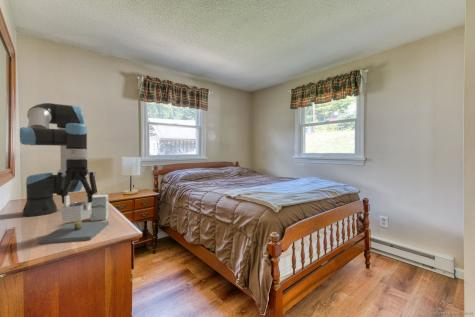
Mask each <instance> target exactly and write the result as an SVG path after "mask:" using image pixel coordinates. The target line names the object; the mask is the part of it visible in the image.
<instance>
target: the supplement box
mask: <svg viewBox="0 0 475 317" xmlns="http://www.w3.org/2000/svg"><path fill="white" fill-rule="evenodd" d="M108 217H109V194H106V193H105V194H93V195H92V214H91V215H89V218H90V222H97V221H107V219H108Z"/></svg>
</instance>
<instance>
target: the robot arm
mask: <svg viewBox="0 0 475 317" xmlns="http://www.w3.org/2000/svg"><path fill="white" fill-rule="evenodd" d="M26 114H27V116H26V117H27V119H28V122H27V123H28V124H27V126H23V127H22V126H21V127H20V128H19V142H20V144H21V145H26V146H57V147H58V146H59V147H60V148H59V149H60V169H59V170H58V171H57V174H54V173H53V172H42V173H36V174H31V175H28V176H27V177H26V179H25V180H26V182H25V185H26V186H25V187H26V202H25V204H24V206H23V209H22V216H23V217H36V216H43V215H49V214H53V213H55V212H58V206H57V203H56V202H55V199H54V195H57V196H60V197H61V203H62V204H63V205H64V206H66V205H69V204H71V202H70V195H69V193H75V192H76V193H77V192H80V191H81V190H82V188H84V191H85V192H86V195H85V201H86V211H87V210H89V209H90V202H92V196H93V195H96V194H97V193H98V188H97V183H96V177H95V176H96V171H90V170H88V160H87V159H88V130H87V129H88V128H87V125H86V124H85V117H84V112H83V109H82V107H80V106H75V105H69V104H59V103H52V102H46V103H43V102H42V103H38V104H35V105H34V106H32V107H30V108H29V109H28V111H27V113H26ZM50 125H56V128H50ZM87 175H88V176H89V182H88V178H87V177H86V176H87ZM89 183H90V184H89ZM64 206H63V207H64Z"/></svg>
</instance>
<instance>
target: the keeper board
mask: <svg viewBox="0 0 475 317" xmlns="http://www.w3.org/2000/svg"><path fill="white" fill-rule="evenodd" d="M108 225H109V220H104V221H90V222H81V230H75V224H74V222H72V223H66V224H64V225H62V226H60V227H59V228H57V229H55V230H54V231H51V232H50V233H49V234H47V235H45V236H43V237H41V238H40V239H38V243H39V244H54V243H66V242H80V241H81V242H82V241H90V240H93V239H94V237H96V236H97V235H98V234H100V233H101V231H102V230H104V229H105V228H107V226H108Z"/></svg>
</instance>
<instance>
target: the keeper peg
mask: <svg viewBox="0 0 475 317" xmlns="http://www.w3.org/2000/svg"><path fill="white" fill-rule="evenodd" d="M73 223H74V224H75V230H81V223H82V220H80V221H73Z"/></svg>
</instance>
